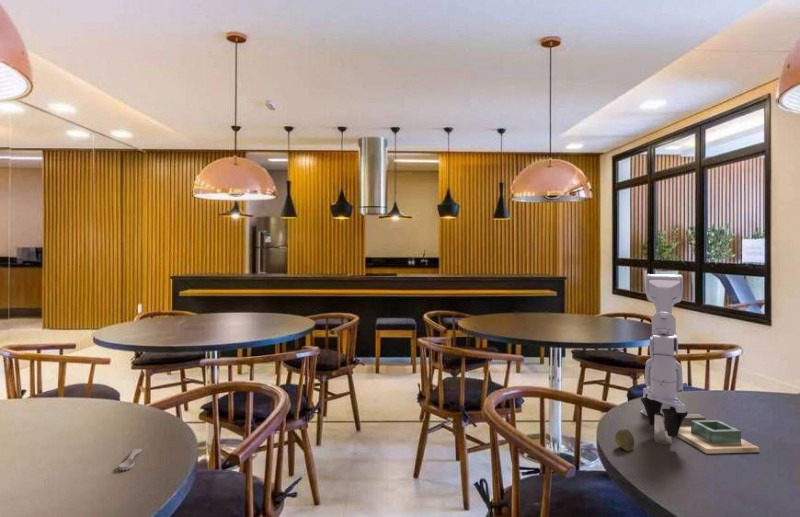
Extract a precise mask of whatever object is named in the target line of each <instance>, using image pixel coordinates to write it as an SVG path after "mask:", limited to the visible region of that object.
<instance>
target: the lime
mask: <svg viewBox="0 0 800 517" xmlns="http://www.w3.org/2000/svg"><path fill="white" fill-rule="evenodd" d="M614 440H615V443H616V444H617V446H618V447H619V448H621V449H622V450H623V451H626V452H630V451H632V450H633V449H634V447H635V438H634V435H633V433H632V432H631V431H630V430H628V429H626V428H625V429H624V428H622V429H619V430H618V431H617V432H616V433H615V436H614Z"/></svg>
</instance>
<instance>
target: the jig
mask: <svg viewBox="0 0 800 517" xmlns="http://www.w3.org/2000/svg"><path fill="white" fill-rule="evenodd" d="M676 437H677V438H679V439H681V440H682V441H685V442H687V444H690V445H691V446H692V447H695V448H696V449H698V450H700V451H701V452H703V453H705V454H708V455H709V454H734V453H735V454H737V453H738V454H739V453H742V454H743V453H759V452H760V447H759V446H757V445H755V444H753V443H751V442H749V441H747V440H745V439H743V438H742V431H741V430H740V429H737V428H736V427H734V426H731V425H729V424H727V423H725V422H723V421H721V420H720V419H711V420H710V419H707V418H706V417H705V416H703V415H701V414H699V413H688V415H687V416H686V417H685V418H684V420H683V421H682V423H681V426H680V428H679V431H678V435H677V436H676Z"/></svg>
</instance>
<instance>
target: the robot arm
mask: <svg viewBox="0 0 800 517" xmlns="http://www.w3.org/2000/svg"><path fill="white" fill-rule="evenodd" d="M683 293H684V277H683V275H682V274H656V273H655V274H654V273H653V274H652V273H651V274H650V273H647V274H646V275H645V295H646V298H647V301H649V302H651V303H653V304H654V305H653V306H654V307H655V312H656V313H655V314H654V315H653V316H652V318H651V335H650V337H649V355H650V358H649V359H647V360H646V362H645V368H644V384H645V385H646V387H643V389H642V393H643V394H642V397H640V401H641V402H642V410H640V413H641V414H643V415H644V416H646V417H647V419H648V423H649V425H650V426H654V422H655V413H664V416H665V419H666V425H667V434H668V436H670V437H677V435H678V431H679V428H680V426H681V423H682V421H683V420H684V418H685V417H686V416H687V415H688V414H689V413H688V411H687V409H686V408H687V407H686V406H687V405H686V404H684V403H683V402H681V400H680V399H678V392H679V391H681V390H682V389H683V367H682V365H681V362H679V361H678V360H677V358H678V355H679V339H678V335H677V334H678V333H677V326H676V325H677V324H676V317H675V316H674V315H673V313H672V312H673V308H674V306H675V304H679V303H680V302H681V301H682V299H683ZM674 354H675V355H674Z"/></svg>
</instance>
